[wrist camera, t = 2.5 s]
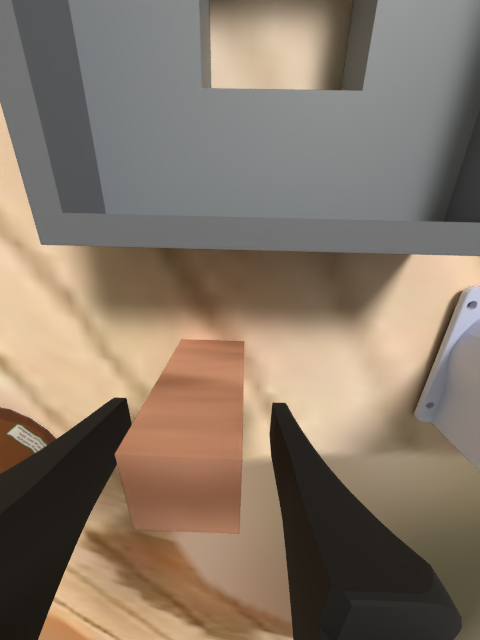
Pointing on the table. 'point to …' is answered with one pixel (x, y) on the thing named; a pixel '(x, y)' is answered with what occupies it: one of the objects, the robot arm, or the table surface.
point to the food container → (20, 438)
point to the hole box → (244, 132)
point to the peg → (188, 443)
